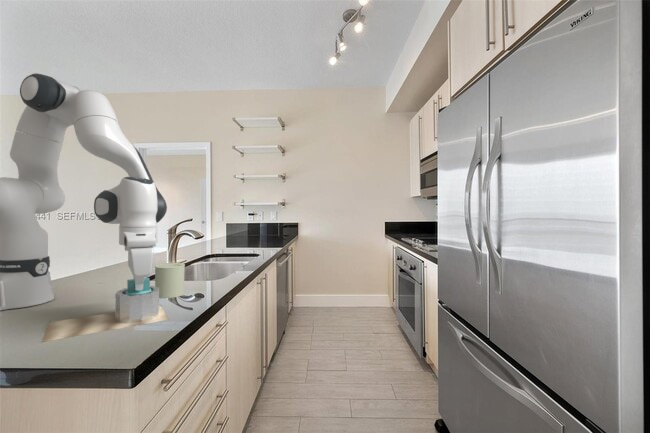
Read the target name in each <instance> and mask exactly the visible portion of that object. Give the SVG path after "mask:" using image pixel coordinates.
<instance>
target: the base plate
mask: <svg viewBox="0 0 650 433" xmlns="http://www.w3.org/2000/svg"><path fill="white" fill-rule="evenodd" d="M169 320H170V319H169V317H168V315H167V314H166V312H165V310H164V309H163V306H162V305H159V314H158V316H156V317H155V318H153V319H150V320H146V321H143V322H136V323H120V322H117V321H115V312H109V313H101V314H94V315H88V316H82V317H75V318H74V317H73V318H68V319H62V320H54V321H50V322H49V323H48V326H47V328H46V331H45V333H44V335H43V337H42V340H41V343H45V342H51V341H56V340H61V339H68V338H74V337H79V336H85V335H90V334H96V333H101V332H107V331H113V330H118V329H125V328H129V327H130V328H131V327H136V326H141V325H147V324H152V323H158V322H164V321H169Z"/></svg>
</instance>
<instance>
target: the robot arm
mask: <svg viewBox="0 0 650 433" xmlns="http://www.w3.org/2000/svg"><path fill="white" fill-rule="evenodd" d="M19 96H20V98H21V100H22V102H23V103H24V104H25V105H26V106H25V108H24V110H23V112H22V113H21V115H20V116H19V117H20V118H19V120H18V122H17V125H16V128H15V133H14V135H13V140H12V144H11V147H10V151H9V156H10V159H11V160H12V161H13V163H15V166H17V172H18V174H17V175H18V177H17V178H15V177H7V176H5V177H4V176H3V177H0V311H3V310H4V311H5V310H10V309H12V310H13V309H19V308H26V307H32V306H38V305H41V304H45V303H47V302H50V301H51V302H52V301H53V300H54V299H55V291H53V287H52V277H51V273H50V271H49V268H50V267H51V265H50V264H51V258H50V256H49V253H48V252H49V240H48V239H49V236H48V235H49V234H48V232H47V230H45V228H43V227H41V225H40V224H39V222H38V219H37V216H36V215H38V214H39V215H41V214H42V215H44V214H47V213H52V212H55V211H58V210H59V209H61V208H62V207H63V206H64V204H65V201H66V195H65V192H64V191H63V189H62V188H61V187H60V183H59V178H58V164H59V160H60V156H61V152H62V147H63V143H64V139H65V134H66V131H67V129H68V128H69V127H71V126H73V129H74V132H75V136H76V138H77V140H78V142H79V144H80V146H81V148H83V149H84V150H86V151H87V153H89V154H91V155H93V156H95V157H98V158H100V159H103V160H105V161H107V162H110V163H112V164H114V165H116V166H118V167H119V168H121V169H123V170H124V171H125V173H127V175H128V176H126V177H122V178H121V180H120V182H119V184H118V185H116V186H114V187H112V188H109V189H105V190H103V191H101V192H100V193H98V195H96V197H95V199H94V202H93V209H94V210H93V211H94V215H95V216H96V217H97V219H98V220H100V221H101V222H102V223H105V224H109V225H110V224H111V225H118V224H119V226H118V245H121V246H123V247H124V251H126V252H128V253H127V255H128V256H127V265H128V267H129V270H130V272H131V274H132V279H135V290H136V291H139V290H143V283H144V278H149V277H150V276H151V274H152V270H153V269H152V268H153V262H154V261H153V259H154V247H157V244H158V223H160V221H161V220H162V219H163V218H165V215H166V214H167V211H168V210H167V209H168V205H167V202H166V199H165V197H164V196H163V195H162V193H161V191H159V189H158V187H157V186H156V184H155V181H154V179H153V177H152V175H151V174H150V171H149V169H148V166H147V164H146V163H145V161H144V159H143V156H142V155H141V153H140V152H139V150H138V149H137V148H136V147H135V146H134V145H133V144H132V143H131V142H130V141H129V139H128V138H127V137H126V135H125V134H124V132H123V130H122V129H121V126H120V123H119V120H118V117H117V114H116V111H115V110H114V108H113V105H112V104H111V102H110V100H109V99H108V97H107V96H105V95H104V94H103V93H101V92H99V91H96V90H92V89H91V90H90V89H81V88H79V87H77V86H74V85H71V84H68V83H66V82H63V81H60V80H58V79H56V78H54V77H52V76H49V75H45V74H42V73H37V72H36V73H32V74H29V75H27V76H25V78H24V79H23V80H22V81H21V84H20V88H19Z"/></svg>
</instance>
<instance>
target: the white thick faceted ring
mask: <svg viewBox="0 0 650 433" xmlns="http://www.w3.org/2000/svg"><path fill="white" fill-rule="evenodd" d="M150 289H151V292H148V293H143V294H134V295H129V294H125V292H126V291H127V287H126V288H122V289H120V290H117V291H116V293H115V304H114V305H115V321H117V322H120V323H136V322H143V321H146V320H150V319H153V318H155V317H156V316H158V314H159V306H160V298H159V288H158V287H155V285H153V286H151V285H150Z"/></svg>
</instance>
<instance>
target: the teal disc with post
mask: <svg viewBox="0 0 650 433" xmlns="http://www.w3.org/2000/svg"><path fill="white" fill-rule="evenodd" d="M150 281H151V280H150V278H149V277H145V278H144V283H143V290H139V291H136V290H135V279H133V278H132V279H127V282H126V283H127V287H126V288H127V291H126V292H125V294H129V295H134V294H143V293H148V292H151V289H150V286H151V285H150Z"/></svg>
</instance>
